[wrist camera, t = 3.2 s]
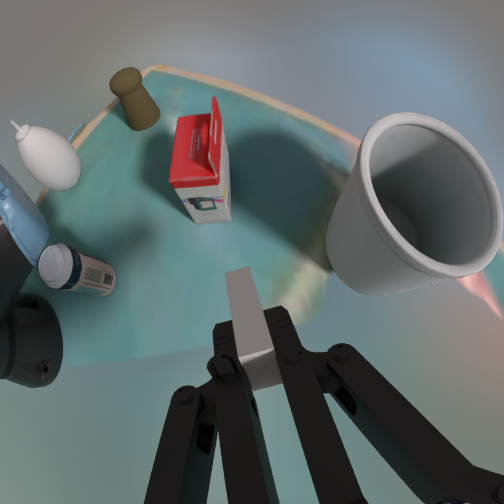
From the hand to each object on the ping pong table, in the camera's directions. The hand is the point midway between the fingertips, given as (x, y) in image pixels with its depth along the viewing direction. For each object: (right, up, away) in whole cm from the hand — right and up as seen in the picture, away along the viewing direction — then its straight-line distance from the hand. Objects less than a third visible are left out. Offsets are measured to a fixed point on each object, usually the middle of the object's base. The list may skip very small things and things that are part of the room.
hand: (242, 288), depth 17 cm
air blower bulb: (-30, +14, +23) cm, 40 cm away
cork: (-18, +25, +25) cm, 40 cm away
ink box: (-5, +10, +21) cm, 23 cm away
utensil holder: (+16, +3, +18) cm, 24 cm away
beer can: (-20, -2, +18) cm, 27 cm away
